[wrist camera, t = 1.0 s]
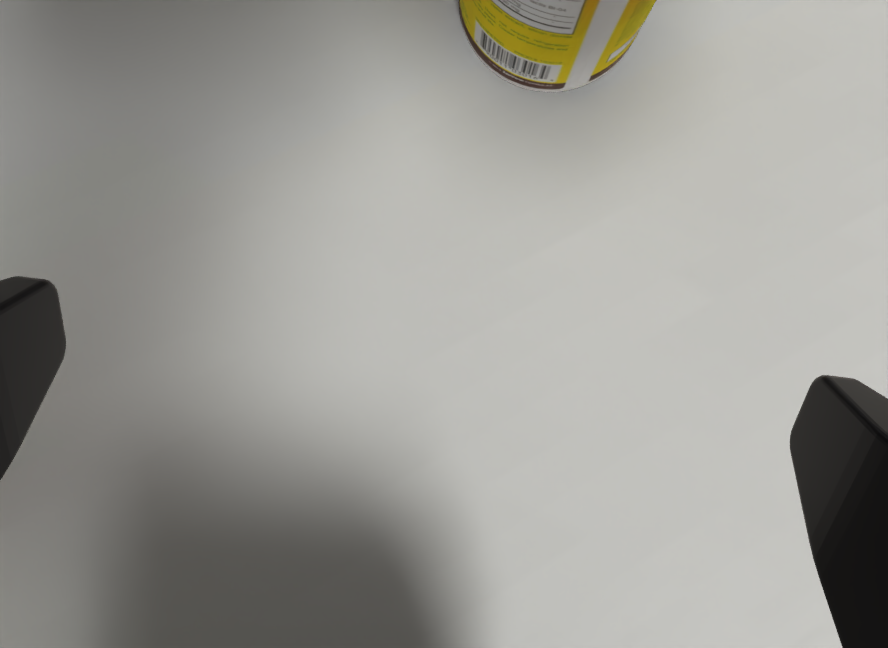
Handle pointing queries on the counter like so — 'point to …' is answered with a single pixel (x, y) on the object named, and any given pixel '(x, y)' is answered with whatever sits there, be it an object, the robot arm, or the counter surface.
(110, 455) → the counter surface
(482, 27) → the supplement bottle
